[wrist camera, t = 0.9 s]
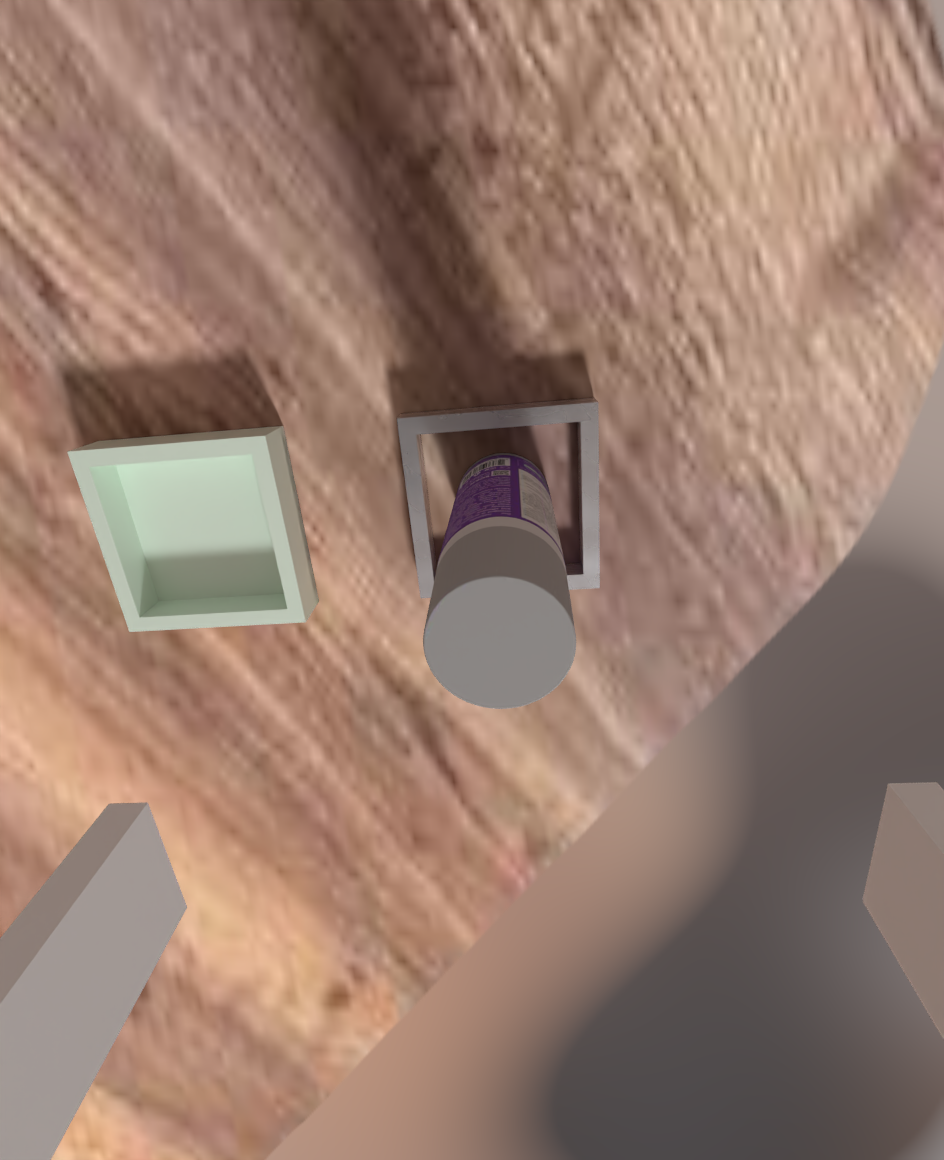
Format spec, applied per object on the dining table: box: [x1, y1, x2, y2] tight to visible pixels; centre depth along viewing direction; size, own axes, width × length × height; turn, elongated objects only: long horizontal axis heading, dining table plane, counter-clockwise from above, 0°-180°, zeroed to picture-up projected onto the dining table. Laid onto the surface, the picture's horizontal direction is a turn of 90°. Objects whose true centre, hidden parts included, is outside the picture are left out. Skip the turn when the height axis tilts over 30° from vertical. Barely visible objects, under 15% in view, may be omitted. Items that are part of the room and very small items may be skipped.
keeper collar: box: [397, 398, 600, 598], centre depth 31 cm, size 9×9×2 cm
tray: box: [68, 426, 319, 632], centre depth 32 cm, size 10×10×2 cm
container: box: [423, 453, 576, 709], centre depth 25 cm, size 5×5×15 cm
